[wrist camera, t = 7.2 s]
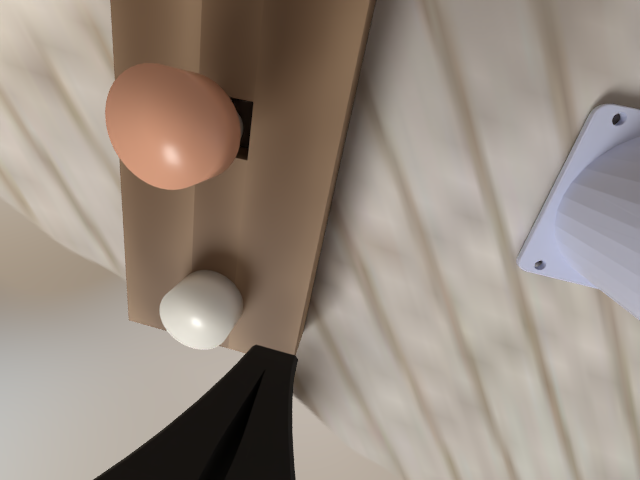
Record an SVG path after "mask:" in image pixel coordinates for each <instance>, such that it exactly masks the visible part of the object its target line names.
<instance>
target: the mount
mask: <svg viewBox="0 0 640 480" xmlns="http://www.w3.org/2000/svg"><path fill="white" fill-rule="evenodd" d="M110 2H111V19H112V37H113V54H114V71H115V80H116V79H117V78H118V76H119V75H120V74H121V73H123V72H124V71H125V70H127V69H128V68H130V67H132V66H135V65H138V64H143V63H156V64H162V65H166V66H170V67H175V68H179V69H183V70H187V71H191V72H195V73H199V74H202V75H204V76H206V77H208V78H210V79H211V80H213V81H214V82H215V83H217V84H218V85H219V86H220V87H221V88H222V89H223V90H224V91H225V92H226V94H227V95H228V96H229V97H233V98H237V99H242V100H246V101H251V102H253V112H252V122H251V131H250V141H249V148H245V147H240V146H239V150H238V153H237V155H236V158H235V159H234V161H233V163H232V164H231V165H230V166H229V168H228V169H227V170H225V171H224V172H223V173H221V174H220V175H218V176H216V177H213V178H211V179H208V180H205V181H203V182H200V183H198V184H195V185H192V186H190V187H187V188H183V189H178V190H167V189H161V188H158V187H154V186H152V185H150V184H148V183H146V182H144V181H143V180H141V179H140V178H138V177H137V176H136V175H134V174H133V173H132V172H131V171H130V170H129V169H128V168H127V167H126V166H125V164H124V163H123V162H122V161H121V159H120V176H121V193H122V211H123V228H124V245H125V263H126V280H127V298H128V315H129V320H130V321H134V322H137V323H141V324H144V325H148V326H151V327H155V328H158V329H162V330H165V331H167V330H166V328H165V327H164V325H163V323H162V320H161V317H160V311H159V310H160V303H161V301H162V299H163V297H164V296H165V295H166V294H167V293H168V292H169V291H170V290H171V289H173V288H174V287H175V286H176V285H177V284H179V283H180V282H181V281H182V280H183V279H184V278H186V277H187V276H188V275H189V274H191V273H193V272H195V271H199V270H210V271H214V272H217V273H220V274H222V275H224V276H225V277H227V278H228V279H230V280H231V281H232V282H233V283H234V284H235V286H236V287H237V288H238V290H239V292H240V293H241V296H242V299H243V312H242V315H241V316H240V318H239V320H238V321H237V323H236V324H235V326H234V327H233V329H232V330H231V332H230V333H229V335H228V336H227V338H226V339H225V340H224V342H223V343H222V344H220V345H219V346H222V347H226V348H229V349H233V350H236V351H240V352H243V353H247V352H248V351H249V349H250V348H251V347H252V346H254V345H260V346H263V347H267V348H271V349H274V350H278V351H281V352H285V353H288V354H292V355H296V352H297V349H298V346H299V343H300V340H301V337H302V334H303V330H304V325H305V321H306V316H307V312H308V307H309V303H310V298H311V294H312V289H313V285H314V280H315V275H316V271H317V266H318V262H319V257H320V253H321V248H322V244H323V239H324V235H325V230H326V226H327V221H328V216H329V212H330V207H331V203H332V198H333V194H334V189H335V185H336V180H337V176H338V171H339V166H340V162H341V157H342V153H343V148H344V144H345V139H346V135H347V130H348V126H349V121H350V116H351V112H352V107H353V103H354V98H355V94H356V89H357V85H358V80H359V76H360V71H361V66H362V62H363V57H364V53H365V48H366V44H367V39H368V35H369V30H370V26H371V21H372V16H373V12H374V7H375V3H376V0H110Z"/></svg>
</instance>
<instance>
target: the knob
mask: <svg viewBox="0 0 640 480" xmlns="http://www.w3.org/2000/svg"><path fill="white" fill-rule="evenodd" d="M159 311H160V317H161V320H162V323H163V325H164V327H165V328H166V330H167V331H168V332H169V334H170V335H171V336H172V337H174V338H175V339H176V340H177V341H179V342H180V343H182V344H184V345H186V346H188V347H191V348H194V349H201V350H206V349H212V348H215V347H217V346H219V345H220V344H222V343H223V342H224V340H225V339H226V338H227V336H228V335H229V333H230V332H231V330H232V329H233V327H234V326H235V324H236V323H237V321H238V320H239V318H240V316H241V315H242V312H243V299H242V296H241V293H240V292H239V290H238V288H237V287H236V286H235V284H234V283H233V282H232V281H231V280H230V279H228V278H227V277H225V276H224V275H222V274H220V273H217V272H214V271H210V270H199V271H195V272H193V273H191V274H189V275H188V276H187V277H186V278H184V279H183V280H182V281H181V282H180V283H179V284H177V285H176V286H175V287H174V288H173V289H171V290H170V291H169V292H168V293H167V294H166V295H165V296H164V297H163V299H162V301H161V303H160V310H159Z"/></svg>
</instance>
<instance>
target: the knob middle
mask: <svg viewBox="0 0 640 480" xmlns="http://www.w3.org/2000/svg"><path fill="white" fill-rule="evenodd" d="M105 114H106V126H107V130H108V134H109V137H110V140H111V143H112V145H113V147H114V149H115V151H116V153H117V155H118V156H119V158H120V159H121V161H122V162H123V163H124V164H125V166H126V167H127V168H128V169H129V170H130V171H131V172H132V173H133V174H134V175H136V176H137V177H138V178H140V179H141V180H143V181H144V182H146V183H148V184H150V185H152V186H154V187H158V188H161V189H167V190H178V189H183V188H187V187H190V186H192V185H195V184H198V183H200V182H203V181H205V180H208V179H211V178H213V177H216V176H218V175H220V174H221V173H223V172H224V171H225V170H227V169H228V168H229V166H230V165H231V164H232V163H233V161H234V159H235V158H236V155H237V153H238V150H239V146H240V140H241V137H242V134H243V122H242V119H241V117H240V115H239V114H238V113H237V112H236V109H235V107H234V105H233V103H232V101H231V99H230V98H229V96H228V95H227V94H226V92H225V91H224V90H223V89H222V88H221V87H220V86H219V85H218V84H217V83H215V82H214V81H213V80H211V79H210V78H208V77H206V76H204V75H202V74H199V73H195V72H191V71H187V70H183V69H179V68H175V67H170V66H166V65H162V64H156V63H143V64H138V65H135V66H132V67H130V68H128V69H127V70H125V71H124V72H123V73H121V74H120V75H119V76H118V78H117V79H116V80H115V81H114V83H113V85H112V86H111V88H110V91H109V94H108V97H107V101H106V110H105Z"/></svg>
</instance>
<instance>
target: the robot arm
mask: <svg viewBox="0 0 640 480" xmlns="http://www.w3.org/2000/svg"><path fill="white" fill-rule="evenodd" d="M617 113H619V115H620V120H619V121H618V123H617V124H615V125H613V123H612V119H613V117H614V116H615V115H616V114H617ZM538 261H542V264H541V265H540V266H537V267H534V266H535V263H536V262H538ZM516 262H517V265H518V266H519V267H520V268H521V269H522V270H524V271H527V272H531V273H535V274H539V275H544V276H548V277H552V278H556V279H560V280H564V281H568V282H572V283H576V284H580V285H584V286H589V287H593V288H597V289H600V290H601V291H602V292H604V293H605V294H606V295H608V296H609V297H610V298H611V299H613V300H614V301H615V302H617V303H618V304H619V305H620V306H622V307H623V308H624V309H626V310H627V311H628V312H629V313H631V314H632V315H633V316H635V317H636V318H637V319H638V320H640V109H637V108H632V107H627V106H622V105H617V104H601V105H599V106H597V107H595V108H594V109H593V110H592V111H591V113H590V114H589V116H588V118H587V120H586V122H585V124H584V126H583V128H582V130H581V132H580V134H579V136H578V138H577V140H576V142H575V144H574V146H573V148H572V150H571V152H570V154H569V156H568V158H567V160H566V162H565V164H564V166H563V168H562V170H561V172H560V173H559V175H558V177H557V179H556V181H555V183H554V185H553V187H552V189H551V191H550V193H549V195H548V197H547V199H546V201H545V203H544V205H543V207H542V209H541V211H540V213H539V215H538V217H537V219H536V221H535V223H534V225H533V227H532V229H531V231H530V233H529V235H528V237H527V239H526V241H525V243H524V245H523V247H522V249H521V251H520V253H519V255H518V257H517V260H516ZM297 362H298V359H297V357H296V356H295V355H292V354H288V353H285V352H281V351H278V350H274V349H271V348H267V347H263V346H260V345H254V346H252V347H251V348H250V349H249V351H248V352H247V353H246V354H245V355H244V356H243V357H242V358H241V359H240V361H239V362H238V363H237V364H236V365H235V366H234V367H233V368H232V369H231V370H230V371H229V372H228V373H227V374H226V375H225V376H224V377H223V378H222V379H221V380H220V381H218V382H217V383H216V384H215V385H214V386H213V387H212V388H211V389H210V390H209V391H208V392H207V393H206V394H204V395H203V396H202V397H201V398H200V399H199V400H198V401H197V402H195V403H194V404H193V405H192V406H191V407H189V408H188V409H187V410H186V411H185V412H184V413H182V414H181V415H180V416H179V417H178V418H176V419H175V420H174V421H173V422H172V423H170V424H169V425H168V426H167V427H165V428H164V429H163V430H162V431H160V432H159V433H158V434H157V435H155V436H154V437H153V438H151V439H150V440H149V441H147V442H146V443H145V444H143V445H142V446H141V447H139V448H138V449H137V450H135V451H134V452H132V453H131V454H130V455H129V456H127V457H126V458H124V459H123V460H121V461H120V462H118V463H117V464H115V465H114V466H113V467H111V468H110V469H108V470H107V471H105V472H104V473H102V474H101V475H100V476H98V477H97V478H95V479H94V480H295V470H294V456H293V437H292V396H293V382H294V375H295V371H296V366H297Z"/></svg>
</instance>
